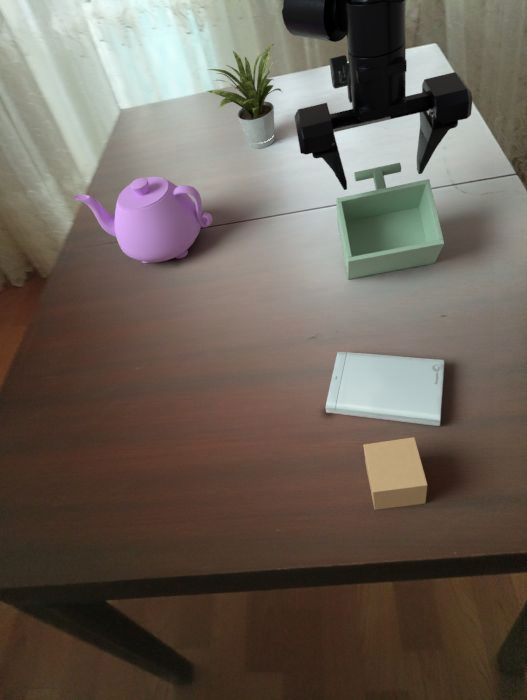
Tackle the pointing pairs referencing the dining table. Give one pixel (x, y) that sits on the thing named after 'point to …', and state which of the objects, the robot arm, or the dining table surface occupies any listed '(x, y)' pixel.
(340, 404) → the hard drive
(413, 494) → the tan cardboard cube
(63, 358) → the dining table surface
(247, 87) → the house plant
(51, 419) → the dining table surface
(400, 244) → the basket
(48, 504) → the dining table surface
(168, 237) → the teapot
